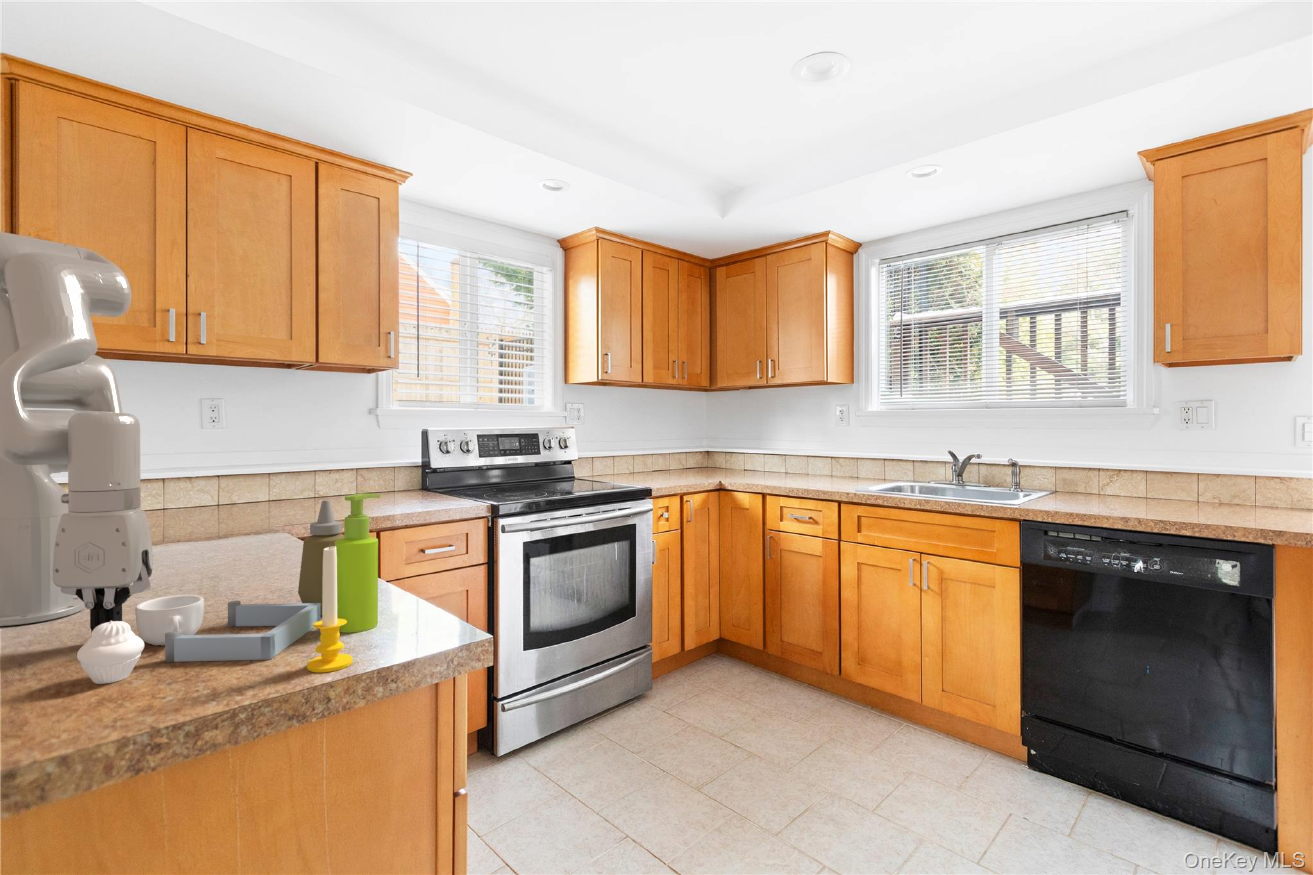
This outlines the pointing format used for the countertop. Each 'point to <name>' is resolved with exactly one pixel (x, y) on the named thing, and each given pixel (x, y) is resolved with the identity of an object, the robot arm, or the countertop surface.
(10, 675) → the countertop surface
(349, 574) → the soap dispenser
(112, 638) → the muffin
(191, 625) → the teacup
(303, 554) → the squeeze bottle
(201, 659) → the bay
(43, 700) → the countertop surface
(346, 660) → the candle
